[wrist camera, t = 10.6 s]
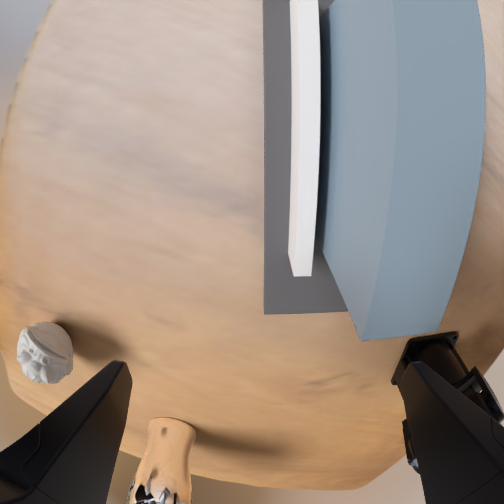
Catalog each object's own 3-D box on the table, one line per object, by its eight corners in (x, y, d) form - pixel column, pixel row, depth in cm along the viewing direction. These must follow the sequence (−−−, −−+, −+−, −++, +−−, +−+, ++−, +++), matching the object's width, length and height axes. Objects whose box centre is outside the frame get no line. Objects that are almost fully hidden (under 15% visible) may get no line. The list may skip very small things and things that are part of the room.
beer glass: (205, 424, 31) (194, 539, 17) (193, 445, 34) (182, 542, 20) (148, 408, 30) (121, 522, 16) (143, 432, 33) (121, 528, 19)
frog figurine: (95, 329, 24) (64, 384, 18) (75, 362, 27) (51, 410, 21) (44, 291, 23) (5, 338, 16) (32, 330, 25) (1, 373, 19)
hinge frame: (404, -27, 11) (431, -46, 8) (385, 299, 23) (404, 332, 19) (261, -50, 11) (263, -82, 8) (263, 304, 23) (265, 342, 19)
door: (386, 29, 13) (484, -13, 4) (375, 238, 19) (447, 330, 11) (320, 17, 13) (383, -55, 4) (315, 238, 19) (360, 341, 11)
